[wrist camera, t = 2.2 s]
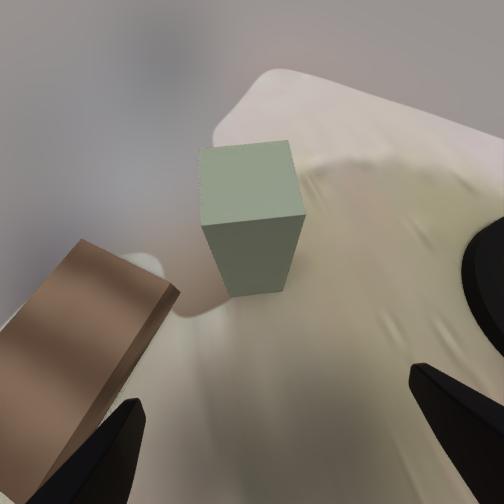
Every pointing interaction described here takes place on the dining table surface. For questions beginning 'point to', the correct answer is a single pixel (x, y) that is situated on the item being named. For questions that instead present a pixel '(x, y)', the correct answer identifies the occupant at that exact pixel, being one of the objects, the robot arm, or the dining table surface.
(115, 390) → the walnut base board
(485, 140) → the dining table surface
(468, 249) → the wireless charger
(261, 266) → the sage-green block
